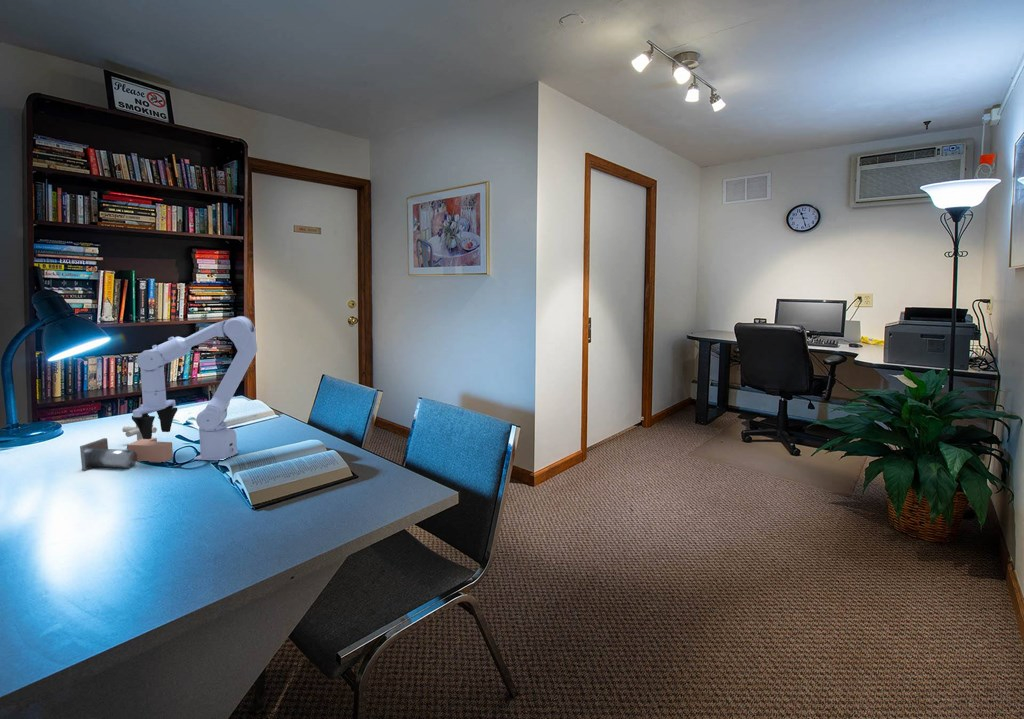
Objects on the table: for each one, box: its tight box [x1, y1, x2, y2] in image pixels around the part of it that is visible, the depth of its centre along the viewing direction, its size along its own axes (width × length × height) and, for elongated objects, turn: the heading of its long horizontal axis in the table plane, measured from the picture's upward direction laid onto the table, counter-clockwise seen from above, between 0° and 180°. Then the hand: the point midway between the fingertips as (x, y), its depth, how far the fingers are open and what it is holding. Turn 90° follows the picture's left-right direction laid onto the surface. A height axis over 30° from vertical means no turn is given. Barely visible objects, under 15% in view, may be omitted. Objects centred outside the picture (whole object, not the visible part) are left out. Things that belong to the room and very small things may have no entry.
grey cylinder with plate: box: [79, 437, 138, 472], centre depth 149 cm, size 11×8×7 cm
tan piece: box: [126, 437, 174, 463], centre depth 157 cm, size 11×8×5 cm
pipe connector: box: [121, 424, 158, 441], centre depth 169 cm, size 10×10×10 cm
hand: (156, 435), depth 155 cm, fingers open, 7 cm apart
